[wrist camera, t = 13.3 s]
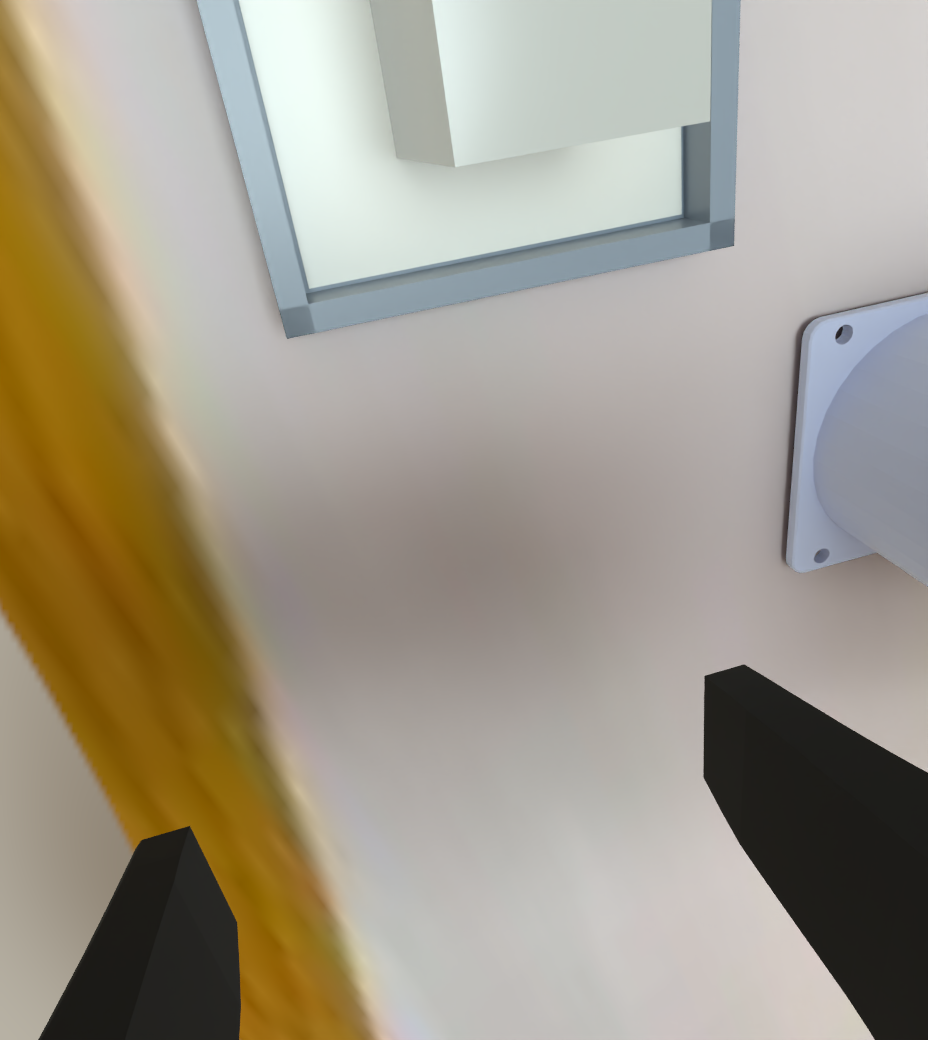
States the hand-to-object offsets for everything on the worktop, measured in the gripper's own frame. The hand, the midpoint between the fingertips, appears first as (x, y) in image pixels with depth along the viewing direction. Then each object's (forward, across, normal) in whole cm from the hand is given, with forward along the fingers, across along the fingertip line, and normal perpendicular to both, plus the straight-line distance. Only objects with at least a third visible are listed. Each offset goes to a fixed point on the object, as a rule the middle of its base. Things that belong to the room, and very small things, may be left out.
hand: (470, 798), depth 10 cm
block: (+10, -4, -10) cm, 14 cm away
